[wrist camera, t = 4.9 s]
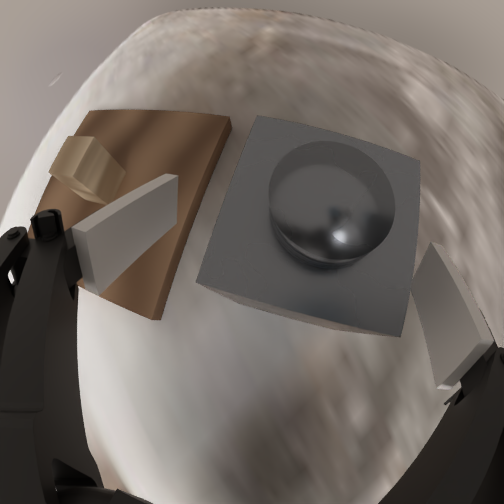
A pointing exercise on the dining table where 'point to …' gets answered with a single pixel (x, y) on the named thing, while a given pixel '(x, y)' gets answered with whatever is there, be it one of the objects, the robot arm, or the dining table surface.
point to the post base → (137, 185)
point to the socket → (318, 229)
